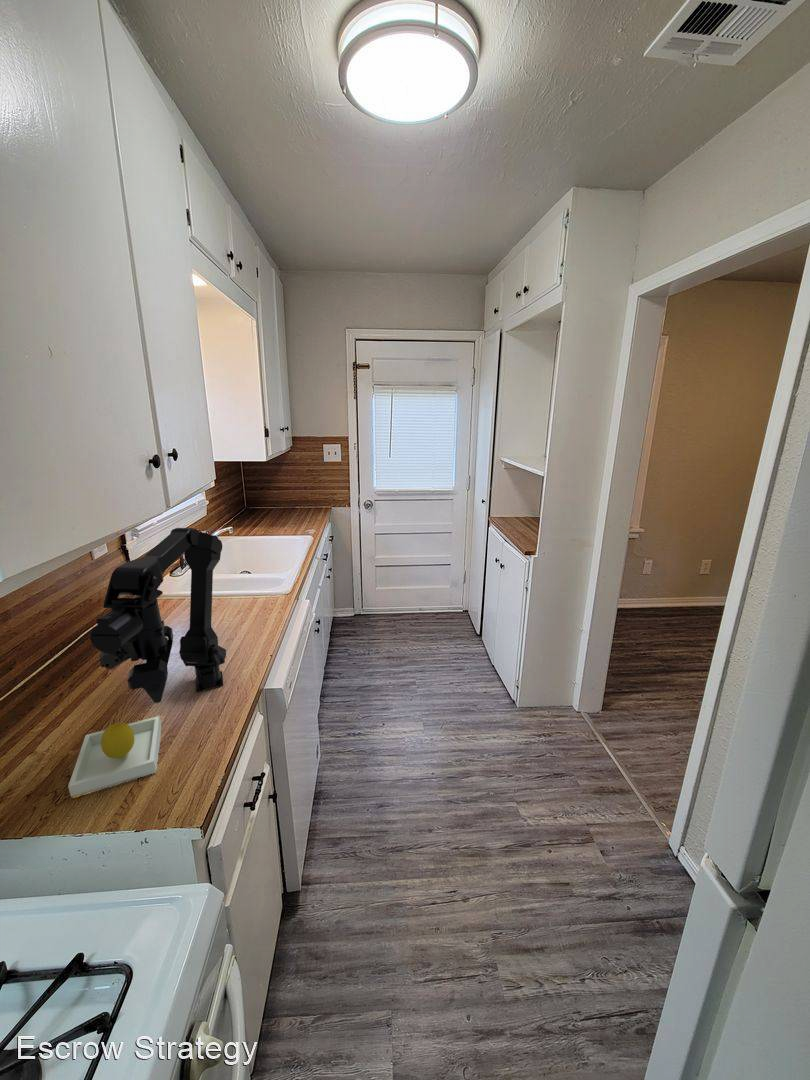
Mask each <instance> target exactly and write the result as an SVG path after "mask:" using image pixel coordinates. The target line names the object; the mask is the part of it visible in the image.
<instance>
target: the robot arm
mask: <svg viewBox="0 0 810 1080" xmlns="http://www.w3.org/2000/svg"><path fill="white" fill-rule="evenodd" d="M222 551H223V542H222V541H221V539H219V536H217V535H214V534H213V535H212V534H209V533H205V532H202V531H199V530H197V529H196V528H193V527H176V528H173V529H171V531H170V534H169V535H167V536H166V537H164V539H163V540H161V541H160V542H159V543H158V544H156V545H155V546H154V547H153V548H152V549H150V550H149V551H148V552H147V553H146V554H145V555H143V556H141V557H139V558H135V559H131V560H129V561H126V562H125V563H122V564H121V565H119V566H117V567H115V568H114V570H113V571H112V573H111V575H110V579H109V583H108V587H107V591H106V593H105V594H106V595H105V598H104V602H103V608H104V609H110V611H108V612H106V613H105V614H103V615H101V616H99V617H97V618H96V625H95V626H94V627H92V629H91V631H90V635H89V640H90V642H91V644H92V645H93V646H94V648H95V649H97V650H98V651H100V653H99V656H98V661H99V662H100V667H101V668H105V669H107V670H113V669H114V668H115V667H117V666H119V665H121V664H122V663H124V662H126V661H127V660H129V659H130V661H131V663H133V662H136V661H139V660H140V659H141V661H145V662H143V663H139V664H134V665H133V666H132V667H131V669H130V670H129V673H128V677H127V680H126V681H127V685H128V689H130V690H132V691H133V690H137V689H143V690H144V691H145V693H147V695H148V696H149V698H150V699H151V700H152V702H153V703H154V704H158V703H161V702H162V699H163V694H164V692H165V691H164V690H165V687H166V684H167V681H168V675H169V671H168V664H169V661H170V660H169V659H170V656H171V651H172V648H173V644H174V639H173V638H174V633H173V628H172V627H170V626H168V625H165V621H164V620H162V617H161V612H160V608H159V602H158V598H159V597H160V596H161V595H163V590H160V589H159V588H160V586H161V584H162V583H163V581H164V573H165V572H166V570H168V569H169V568H170V567H171V565H173V564H174V563H175V562H176V561H177V560H178V559H179V558H180V557H181V556H182V555H184V561H185V562H186V565H187V566H188V567H189V569H190V571H191V576H190V600H189V601H190V605H189V608H190V609H189V628H188V630H187V631H186V633H185V635H184V636H181V637H180V639H179V645H180V646H179V652H178V654H179V657H180V659H181V660H182V662H183V664H184V665H185V667H194V672H195V673H194V674H195V692H196V693H199V692H203V691H207V690H211V689H216V688H218V687H222V686H223V685H224V677H223V671H222V670H221V669H220V668H221V667H220V665H224V664H225V662H226V658H227V649H226V648H224V647H222V646H221V645H219V636H218V635H217V634H216V632H215V630H214V629H213V627H212V617H213V615H212V614H213V613H212V611H213V610H212V609H213V579H214V577H213V576H214V574H213V573H214V570H215V568H216V566H217V565H218V563H219V562H220V561H221V554H222ZM119 596H133V597H132V598H131V597H119Z"/></svg>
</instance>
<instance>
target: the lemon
mask: <svg viewBox="0 0 810 1080" xmlns="http://www.w3.org/2000/svg"><path fill="white" fill-rule="evenodd" d="M128 724H129V723H125V722H114V723H112V724H110V725H109V726H107V727H106V728H105V729H104V730H105V731H104V732H103V734H102V738H101V747H102V751H103V752H104V754H105V755H106V756H108V757H110V758H121V757H123V756H124V755H126V754H127V753H128V752H129V751H130V750H131V749H132V747H133V744H134V733H133V730H132V729H131V727H130V726H129V725H128Z"/></svg>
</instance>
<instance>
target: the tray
mask: <svg viewBox="0 0 810 1080" xmlns="http://www.w3.org/2000/svg"><path fill="white" fill-rule="evenodd" d="M127 724H128V725H129V726H130V727H131V729H132V730H133V733H134V744H133V747H132V749H131V750H130V751H129V752H128V753H127V754H126V755H124V756H123V757H121V758H110V757H108V756H106V755H105V754H104V752H103V751H102V747H101V738H102V734H103V732H104V731H105V730H106V729H103V730H100V731H96V732H92V733H88V734H85V736H84V739H83V743H82V744H81V748H80V750H79V754H78V756H77V760H76V762H75V765H74V769H73V772H72V774H71V777H70V781H69V782H68V786H67V787H68V791H69V794H70V798H71V797H72V796H75V795H78V794H82V793H87V792H90V791H94V790H99V789H104V788H107V787H110V786H114V785H116V784H119V783H123V782H126V781H130V780H133V779H136V780H138V779H137V778H140V777H143V776H146V775H149V774H152V775H154V774H153V773H156V770H157V771H158V764H157V762H159V755H158V753H160V746H161V745H160V744H161V736H162V723H161V716H160V715H158V716H153V717H150V718H145V719H142V720H138V721H134V722H130V723H127ZM156 774H157V773H156ZM149 776H150V775H149ZM146 777H147V776H146ZM143 778H144V777H143ZM140 779H141V778H140ZM133 781H134V780H133ZM130 782H131V781H130ZM123 784H124V783H123ZM114 787H115V786H114ZM110 788H111V787H110ZM107 789H108V788H107ZM104 790H105V789H104Z"/></svg>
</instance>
